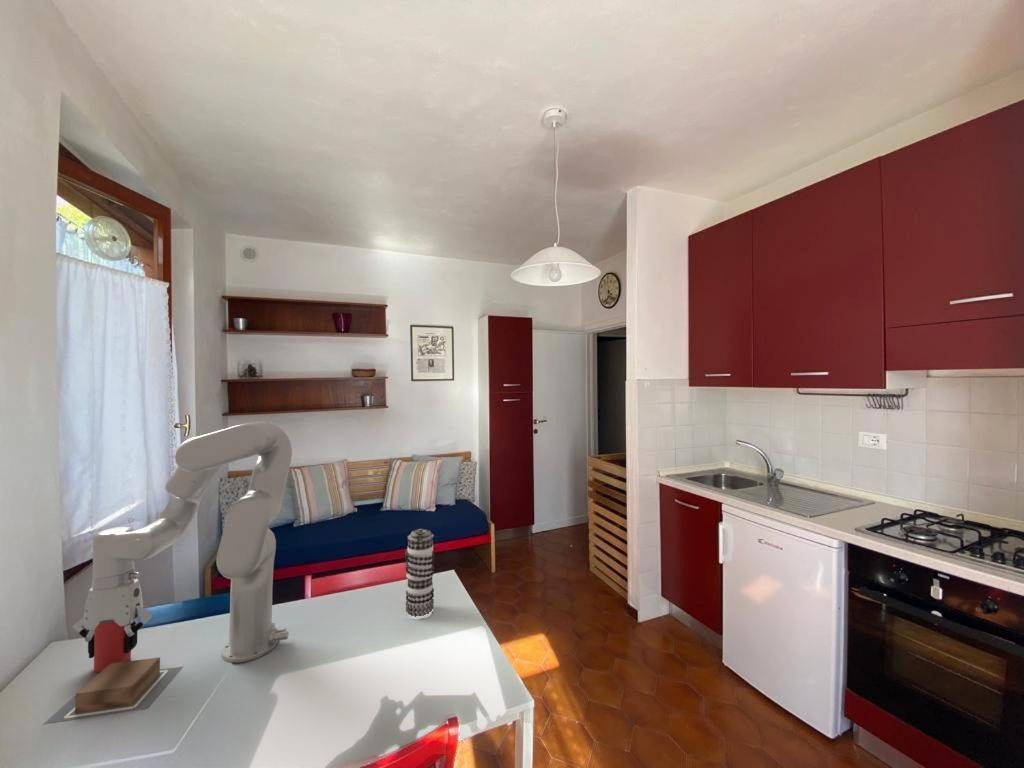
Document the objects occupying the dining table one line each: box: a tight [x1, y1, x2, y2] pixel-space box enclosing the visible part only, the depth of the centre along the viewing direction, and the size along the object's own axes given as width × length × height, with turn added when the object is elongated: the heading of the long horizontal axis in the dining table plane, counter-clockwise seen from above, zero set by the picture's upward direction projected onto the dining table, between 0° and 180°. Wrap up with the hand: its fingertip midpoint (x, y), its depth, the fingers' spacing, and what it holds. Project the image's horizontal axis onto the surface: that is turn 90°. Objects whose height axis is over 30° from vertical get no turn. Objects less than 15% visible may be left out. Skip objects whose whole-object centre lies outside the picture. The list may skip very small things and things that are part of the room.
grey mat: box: [43, 666, 184, 725], centre depth 92 cm, size 18×14×1 cm
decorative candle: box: [404, 528, 436, 617], centre depth 127 cm, size 9×9×25 cm
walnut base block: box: [75, 656, 161, 713], centre depth 92 cm, size 10×10×4 cm
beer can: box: [93, 620, 132, 673], centre depth 102 cm, size 7×7×12 cm
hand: (112, 651), depth 102 cm, fingers closed on beer can, 6 cm apart
